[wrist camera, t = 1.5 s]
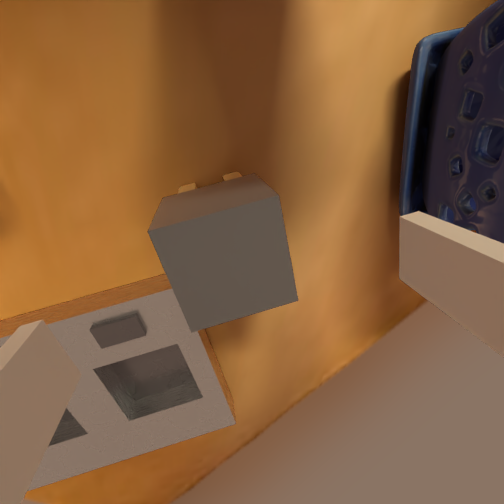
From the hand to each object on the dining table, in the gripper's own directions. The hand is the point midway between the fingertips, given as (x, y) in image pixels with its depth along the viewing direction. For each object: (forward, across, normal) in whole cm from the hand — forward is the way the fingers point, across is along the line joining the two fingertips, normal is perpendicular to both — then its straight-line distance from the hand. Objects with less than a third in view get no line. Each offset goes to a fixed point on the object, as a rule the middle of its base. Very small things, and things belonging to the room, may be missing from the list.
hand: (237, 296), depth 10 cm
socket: (+11, -14, -11) cm, 21 cm away
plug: (+11, 0, +1) cm, 11 cm away
